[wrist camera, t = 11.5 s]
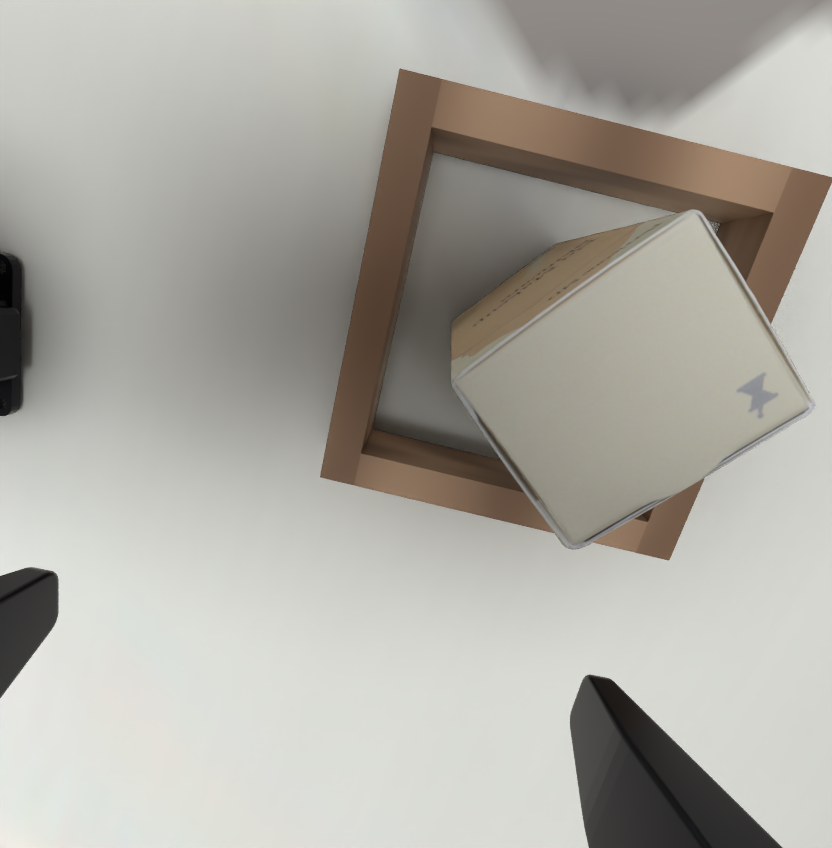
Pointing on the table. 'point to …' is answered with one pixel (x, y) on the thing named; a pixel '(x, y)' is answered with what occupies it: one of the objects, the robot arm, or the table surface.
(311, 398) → the table surface
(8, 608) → the robot arm
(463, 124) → the brown square frame
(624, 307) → the box
